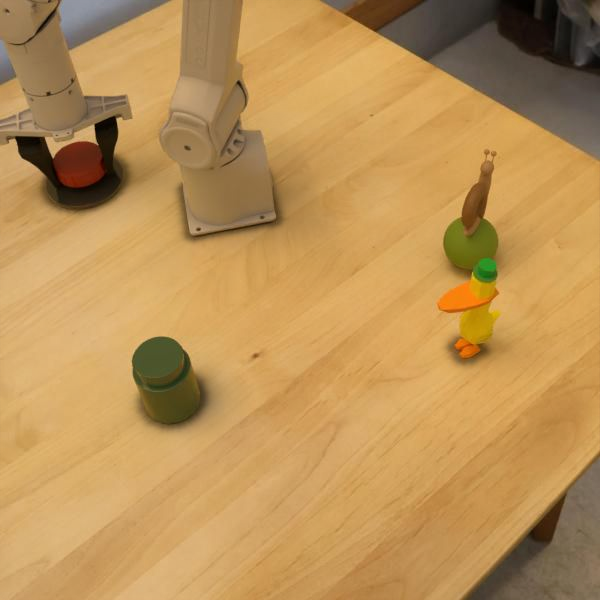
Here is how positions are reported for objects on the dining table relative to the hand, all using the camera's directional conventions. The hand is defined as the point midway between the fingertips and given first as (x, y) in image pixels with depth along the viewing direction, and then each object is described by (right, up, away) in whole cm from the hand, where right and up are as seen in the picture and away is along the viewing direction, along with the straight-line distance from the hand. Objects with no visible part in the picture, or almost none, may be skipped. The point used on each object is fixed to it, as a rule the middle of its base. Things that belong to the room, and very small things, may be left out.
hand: (83, 176), depth 98 cm
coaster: (0, -1, +1) cm, 1 cm away
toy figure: (+41, -19, -17) cm, 48 cm away
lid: (0, +1, -2) cm, 2 cm away
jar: (+13, -24, -19) cm, 33 cm away
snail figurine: (+42, -10, -10) cm, 45 cm away
